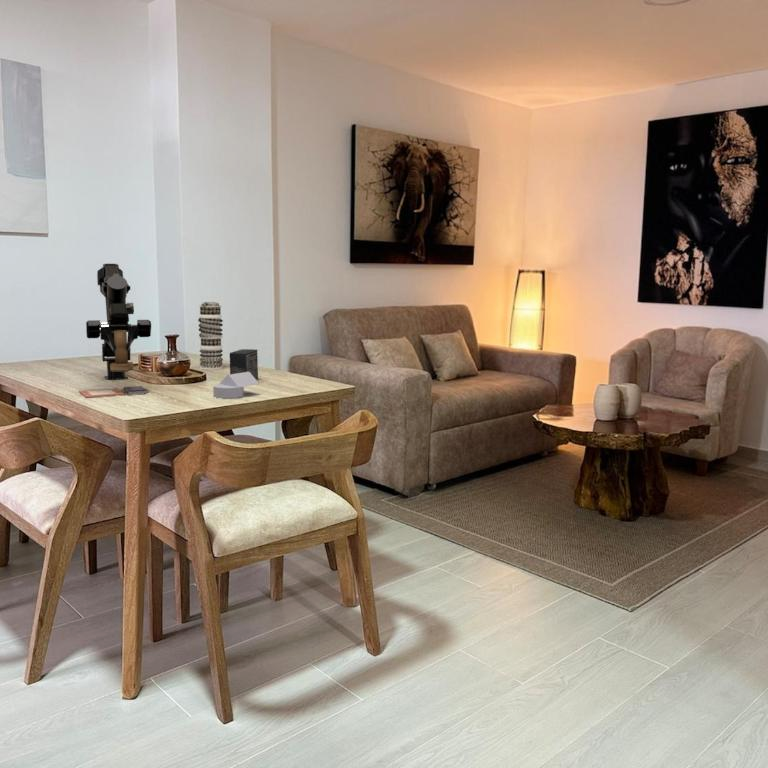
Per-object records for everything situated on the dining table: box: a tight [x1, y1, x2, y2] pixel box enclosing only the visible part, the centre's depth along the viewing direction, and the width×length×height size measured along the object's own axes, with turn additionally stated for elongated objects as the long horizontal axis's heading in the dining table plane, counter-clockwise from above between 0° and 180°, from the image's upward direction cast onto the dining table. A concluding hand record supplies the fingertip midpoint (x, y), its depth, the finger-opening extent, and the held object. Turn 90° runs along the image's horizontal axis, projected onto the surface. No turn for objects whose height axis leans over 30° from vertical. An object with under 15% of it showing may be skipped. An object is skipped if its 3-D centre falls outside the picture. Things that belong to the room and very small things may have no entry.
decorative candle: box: [197, 301, 224, 371], centre depth 276 cm, size 9×9×25 cm
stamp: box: [110, 330, 134, 373], centre depth 222 cm, size 5×5×12 cm
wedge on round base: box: [213, 372, 260, 400], centre depth 223 cm, size 9×7×13 cm
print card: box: [78, 387, 126, 399], centre depth 222 cm, size 11×11×1 cm
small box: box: [229, 348, 259, 380], centre depth 250 cm, size 11×6×10 cm, turn 168°
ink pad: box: [122, 385, 150, 396], centre depth 225 cm, size 8×6×1 cm
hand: (121, 350), depth 220 cm, fingers closed on stamp, 4 cm apart
